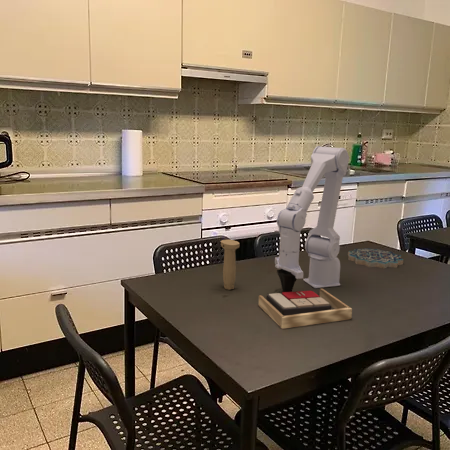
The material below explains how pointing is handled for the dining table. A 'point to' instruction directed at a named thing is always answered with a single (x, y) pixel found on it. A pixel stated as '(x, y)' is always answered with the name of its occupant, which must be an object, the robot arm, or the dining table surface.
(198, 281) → the dining table surface
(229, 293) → the dining table surface
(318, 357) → the dining table surface
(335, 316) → the box
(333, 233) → the robot arm
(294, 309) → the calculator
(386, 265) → the decorative tile
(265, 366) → the dining table surface
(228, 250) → the handle
